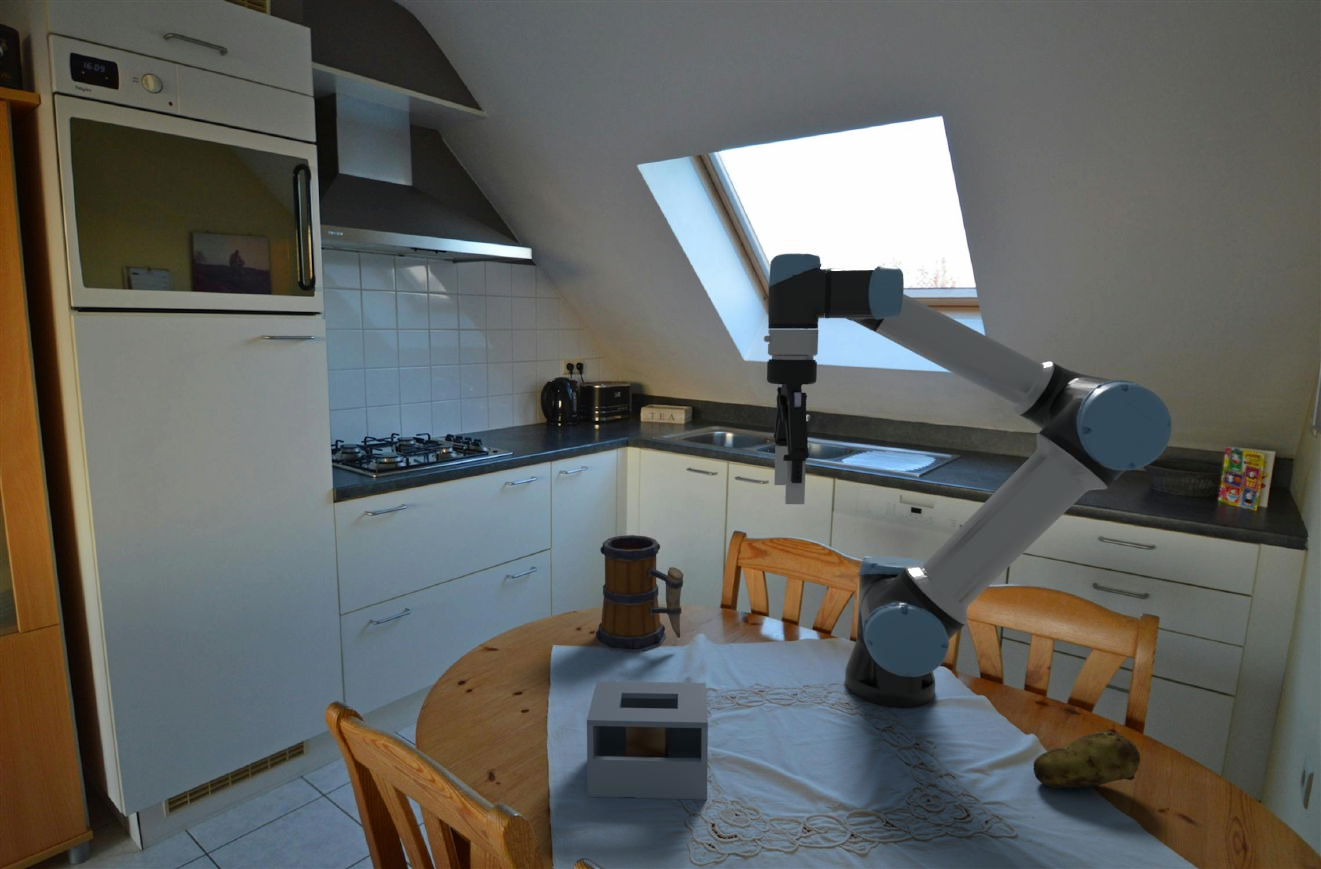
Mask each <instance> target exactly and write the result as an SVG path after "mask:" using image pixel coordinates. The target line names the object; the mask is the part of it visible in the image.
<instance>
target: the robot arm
mask: <svg viewBox="0 0 1321 869" xmlns="http://www.w3.org/2000/svg"><path fill="white" fill-rule="evenodd" d="M904 280H905V279H904V273H903V271H902V269H901V268H900V267H897V266H883V265H876V266H857V267H856V266H855V267H826V266H822V263H821V257H820V256H819V255H818V254H815V253H810V252H807V253H804V252H803V253H802V252H799V253H798V252H793V253H783V254H782V253H781V254H778V255H775V256H774V257H773V258H772V259H771V261H770V264H769V280H768V303H767V304H768V307H767V308H768V309H767V310H768V312H767V313H768V314H767V316H768V317H767V319H768V320H767V321H768V323H767V325H768V327H767V328H768V335H765V336H764V337H763V341H764V342H765V343H766V342H767V343H768V344H767V354H768V355H769V356H771V358H770V359H768V361H767V363H766V381H767V383H769V384H771V385H778V386H777V389H776V392H777V394H776V411H775V412H776V413H775V420H774V421H775V422H774V423H775V424H774V433H773V438H774V443H775V446H774V449H775V451H774V480H773V481H774V484H773V485H774V486H785V496H784V498H785V499H784V500H785V503H784V504H785V505H805V499H806V498H805V495H806V492H805V491H806V461H807V459H809V456H810V452H809V442H808V441H809V440H808V422H807V420H808V419H807V418H808V417H807V399H808V395H807V392H803V389H802V386H803V385H813V384H815V383H816V382H817V378H818V376H817V375H818V374H817V373H818V369H817V368H818V361H817V360H816V359H814V357H815V356H817V355H818V354H819V353H818V352H819V349H818V348H819V320H820V319H846V320H849V321H851V322H854V323H856V324H859V325H860V326H862V327H864V328H865V329H868V330H870V331H871V332H872V331H873V332H874V333H876V334H878V335H880V336H882V337H884V338H885V339H888V341H891V342H893V343H895V344H897V345H899V346H901V347H903V348H905V349H906V350H909V351H911V352H912V353H914V354H916V355H918V356H920V357H922V358H923V359H926V360H927V361H930V362H931V363H934V364H935V365H937V366H939V367H941V368H943V369H944V370H947V371H948V372H951V373H953V375H956V376H957V377H959V378H962V379H963V380H966V381H968V382H970V383H971V384H973V385H975V386H976V387H978V388H981V389H983V390H984V391H986V392H988V393H990V394H992V395H994V396H996V397H998V398H1000V399H1001V400H1004V401H1006V402H1007V403H1009V404H1011V405H1012V407H1013V410H1014V413H1015V414H1017V415H1018V416H1020V417H1022V418H1024V419H1026V420H1027V421H1029V422H1031V423H1032V424H1034V425H1036V426H1037V427H1038V428H1040V429H1041V430H1040V431H1039V432H1038V433H1037V434H1036V437H1035V438H1036V450H1035V451H1034V453H1033V454H1032V455H1030V457H1028V459H1027V460H1026V461H1025V462H1024V463H1023V464H1022V465H1021V466H1020V467H1019V468H1018V469H1016V470H1015V472H1014V473H1013V474H1012V475H1011V476H1010V477H1009V478H1008V479H1007V480H1006V481H1004V483H1003V484H1002V485H1001V486H1000V487H999V488H998V489H997V490H996V491H995V492H994V493H993V494H991V496H990V497H989V498H988V499H987V500H986V501H984V503H983V504H982V505H981V506H980V507H979V508H978V509H977V510H976V511H975V512H974V513H973V514H972V515H971V516H970V517H969V518H968V519H967V520H966V521H965V522H964V523H963V524H962V525H961V527H959V528H958V529H957V530H956V531H955V532H954V534H953V535H951V536H950V537H949V538H948V539H947V541H945V542H944V543H943V544H942V545H941V546H940V547H939V548H938V549H937V551H935V552H934V553H933V555H932V556H930V558H928V559H927V561H926V562H923V561H920V560H918V559H914V558H909V557H908V558H906V557H899V556H870V557H866V558H865V559H863V560H862V561H861V563H860V567H859V572H858V577H859V579H858V580H859V583H858V584H859V585H858V608H857V610H858V611H857V632H856V634H857V635H856V642H855V643H854V647H853V648H852V652H851V654H850V657H849V658H848V662H847V664H846V667H845V672H844V673H845V674H844V675H845V676H844V678H845V679H844V683H845V685H846V687H847V688H848V690H850V692H852V693H853V694H854V695H856V696H858V697H859V698H861V699H863V700H866V701H869V702H871V703H875V704H878V705H883V706H888V707H896V708H910V707H917V706H922V705H925V704H927V703H929V702H930V701H932V700H933V699H934V697H935V694H936V677H935V673H934V671H936V669H938V668H939V667H940V666H941V665H942V663H943V662H944V661H945V659H946V658H947V655H948V651H949V646H950V642H949V641H950V640H951V639H952V638H953V637H954V636H956V635H957V633H958V632H959V631H960V630H961V629H962V628H963V627H964V626H965V625H966V624H967V623H968V622H969V621H968V607H969V606H970V605H971V604H972V603H973V602H974V601H975V600H976V599H977V598H978V597H979V596H980V595H981V594H982V593H983V592H984V591H985V590H987V588H989V587H990V585H992V584H993V583H994V581H996V580H997V578H999V577H1000V576H1001V575H1002V574H1003V573H1004V572H1005V571H1006V570H1007V569H1008V568H1009V567H1010V566H1011V565H1012V564H1013V563H1014V562H1015V561H1016V560H1017V559H1019V558H1020V557H1021V556H1022V555H1023V553H1025V551H1027V550H1028V549H1029V547H1031V546H1032V545H1033V544H1034V543H1035V542H1036V541H1038V539H1039V538H1040V537H1041V536H1043V534H1045V532H1046V531H1047V530H1048V529H1049V528H1050V527H1052V525H1054V523H1056V522H1057V521H1058V520H1059V518H1061V517H1062V516H1063V515H1064V514H1065V513H1066V512H1067V510H1068V511H1069V509H1070V508H1071V507H1072V506H1073V505H1074V504H1075V503H1076V502H1077V501H1078V500H1079V499H1080V498H1081V497H1082V496H1083V495H1085V493H1087V492H1090V491H1093V490H1094V491H1095V490H1096V491H1097V490H1107V489H1108V488H1109V486H1111V485H1112V484H1113V483H1114V482H1115V481H1116V480H1118V479H1119V477H1120V476H1121V475H1122V474H1124V473H1125V472H1126V471H1133V470H1137V469H1140V468H1141V469H1142V468H1143V467H1146V466H1148V465H1150V464H1152V463H1153V462H1155V460H1157V459H1158V458H1159V457H1160V456H1161V455H1162V454H1163V452H1164V451H1165V450H1166V449H1167V447H1168V444H1169V442H1170V440H1171V434H1172V430H1173V428H1172V418H1171V414H1170V411H1169V409H1168V407H1167V405H1166V404H1165V402H1164V400H1162V398H1161V397H1160V396H1159V395H1158V394H1156V393H1155V392H1154V391H1152V390H1151V389H1149V388H1147V387H1144V386H1142V385H1140V384H1139V383H1136V382H1133V381H1129V380H1127V379H1126V380H1125V379H1115V380H1114V379H1110V378H1109V379H1108V378H1105V377H1099V376H1092V375H1088V374H1083V373H1079V372H1076V371H1073V370H1070V369H1068V368H1065V367H1063V366H1061V365H1059V364H1056V363H1054V362H1053V361H1051V360H1050V361H1049V360H1048V361H1044V362H1042V363H1040V362H1038V361H1035V360H1034V359H1032V358H1031V357H1028V356H1026V355H1024V354H1022V353H1020V352H1019V351H1016V350H1015V349H1012V348H1010V347H1009V346H1007V345H1004V344H1002V343H1001V342H999V341H997V340H995V339H993V338H992V337H988V336H987V335H985V334H983V333H981V332H979V331H977V330H975V329H974V328H971V327H969V326H968V325H966V324H964V323H962V322H959V321H957V320H955V319H954V318H952V317H950V316H947V315H946V314H945V313H942V312H940V311H938V310H936V309H934V308H932V307H930V306H929V305H926V304H925V303H923V302H920V301H919V300H916V299H915V298H913V297H911V296H909V295H907V294H905V293H904V289H905V288H904V285H905V284H904ZM779 385H781V386H779Z"/></svg>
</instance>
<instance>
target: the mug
mask: <svg viewBox="0 0 1321 869" xmlns="http://www.w3.org/2000/svg"><path fill="white" fill-rule="evenodd" d="M660 549H661V545H660V543H658V541H657V539H656V538H653V537H649V536H646V535H635V534H629V535H628V534H627V535H618V536H613V537H612V536H611V537H608V538H607V539H606V540H603V542H602V546H601V547H600V549H599V550H600V553H601V554H602V555H604V584H603V585H602V596H603V602H602V612H601V622H600V623H599V624H598V630H596V632H595V639H596V642H597V645H599V646H600V647H602V648H605V649H607V650H609V651H614V652H619V651H621V652H620V653H627V654H628V653H629V654H630V653H639V652H648V651H650V650H653V649H655V648H657V647H660V646H661V645H662V644H663V643H664V642H665V640H666V639H667V634H666V633H665V631H666V626H665V625H664V624H662V622H661V618H660V614H667V615H668V618H669V622H670V625H671V627H672V631H673V632H674V634H675V636H676V638H678V639H680V638H681V614H682V613H683V611H682V606H681V593H682V587H683V586H684V573H683V572H682V571H681V570H680V569H678V568H677V567H674V566H673V567H671V566H670V567H668V570H667V574H666V573H663V572H661V571H659V569H658V570H657V555H658V554H659V550H660ZM657 579H660V580H661V581H663V582H665V603H666V607H664V606H663V607H660V606H659V598H658V596H659V585H658V584H657Z"/></svg>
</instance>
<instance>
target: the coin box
mask: <svg viewBox="0 0 1321 869" xmlns="http://www.w3.org/2000/svg"><path fill="white" fill-rule="evenodd" d="M707 699H708V698H707V683H706V682H678V681H676V682H674V681H673V682H670V681H669V682H667V681H665V682H664V681H617V680H615V681H614V680H611V681H610V680H597V681H596V683H595V687H594V690H593V694H592V699H591V702H590V706H589V710H588V714H587V717H586V756H587V757H586V762H587V765H586V766H587V769H586V770H587V771H586V773H587V777H586V778H587V780H586V781H587V797H588V798H618V797H635V798H634V799H661V800H663V799H665V800H708V753H709V752H708V751H709V750H708V748H709V747H708V744H709V742H708V739H709V719H708V717H709V716H708V702H707V701H708V700H707ZM626 727H668V758H656V757H626Z"/></svg>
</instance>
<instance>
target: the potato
mask: <svg viewBox="0 0 1321 869" xmlns="http://www.w3.org/2000/svg"><path fill="white" fill-rule="evenodd" d="M1140 762H1141V754H1140V752H1139V750H1138V748H1137V746H1136V745H1135V744H1134V742H1132V741H1131V740H1130V739H1129V738H1127V737H1125V736H1123V735H1121V734H1120V733H1118V732H1114V731H1112V730H1098V731H1095V732H1093V733H1089V734H1086V735H1083V736H1081V737H1079V738H1076V739H1074V740H1072V741H1071V742H1069V743H1067V744H1065V745H1063V746H1059V747H1055V748H1052V749H1050V750H1048V751H1045V752H1044V753H1041V754H1040V755H1039V756H1037V757H1036V758H1035V760H1034V761H1033V773H1034V777H1035V778H1036V780H1038V782H1039V783H1041V784H1043V785H1045V786H1047V787H1049V788H1052V789H1062V788H1079V789H1084V788H1092V787H1098V786H1101V785H1105V784H1107V783H1111V782H1115V781H1121V780H1129V781H1133V780H1134V779H1136V777H1135V774H1136V773H1137V772H1138V769H1139V766H1140Z"/></svg>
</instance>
